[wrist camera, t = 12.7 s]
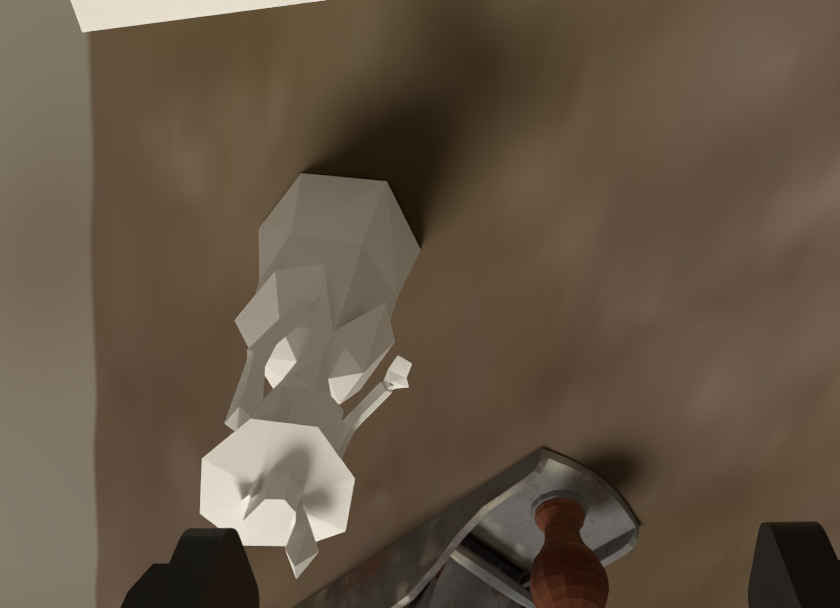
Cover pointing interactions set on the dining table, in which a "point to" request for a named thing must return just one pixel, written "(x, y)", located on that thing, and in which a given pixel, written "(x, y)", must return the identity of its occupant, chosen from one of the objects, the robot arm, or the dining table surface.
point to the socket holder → (159, 10)
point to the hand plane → (503, 546)
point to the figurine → (310, 362)
